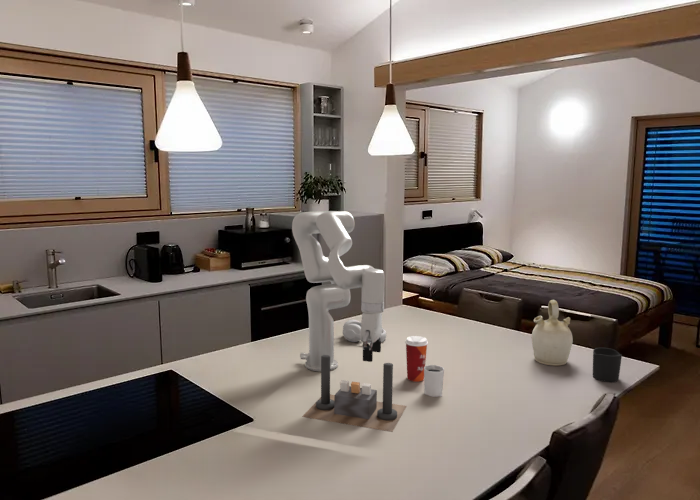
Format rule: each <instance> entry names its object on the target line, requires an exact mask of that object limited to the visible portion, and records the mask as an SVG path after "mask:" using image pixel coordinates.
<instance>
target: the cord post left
mask: <svg viewBox="0 0 700 500" xmlns="http://www.w3.org/2000/svg"><path fill="white" fill-rule="evenodd" d="M330 394H331V370H330V356H329V355H323V356H321V371H320V397H321V399H320V400H319V399H317V400H316V402H315V403H316V408H317V409H319V410H332V409H334V400H332V399H330Z"/></svg>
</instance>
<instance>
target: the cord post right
mask: <svg viewBox="0 0 700 500" xmlns="http://www.w3.org/2000/svg"><path fill="white" fill-rule="evenodd" d="M382 367H383V372H382V373H383V375H382V377H383V378H382V379H383V381H382V402H383V408H382V409H379V410H378V411H377V417H378V418H379V419H381V420H386V421H390V420H394V419H396V418H397V411H396V410H394V409H392V404H393V383H394V382H393V380H394V379H393V378H394V375H393V373H394V364H393V363H391V362H384V363H383V366H382Z"/></svg>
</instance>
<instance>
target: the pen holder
mask: <svg viewBox="0 0 700 500" xmlns="http://www.w3.org/2000/svg"><path fill="white" fill-rule="evenodd" d="M622 356H623V355H622V354H621V353H620V352H618V351H617V350H615V349H613V348H609V347H595V348H594V349H593V352H592V376H593V378H594V379H596V380H597V381H601V382H605V383H614V382H615V381H616V382H617V381H619V378H620V372H621V364H622V358H623V357H622Z"/></svg>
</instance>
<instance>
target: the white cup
mask: <svg viewBox="0 0 700 500" xmlns="http://www.w3.org/2000/svg"><path fill="white" fill-rule="evenodd" d="M444 374H445V368H444V367H443V366H441V365H438V364H427V365H425V367H424V380H423V381H424V382H423V385H424V387H423V388H424V390H423V391H424V395H426V396H429V397H433V398H434V397H443V390H444V389H443V386H444V376H445V375H444Z"/></svg>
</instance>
